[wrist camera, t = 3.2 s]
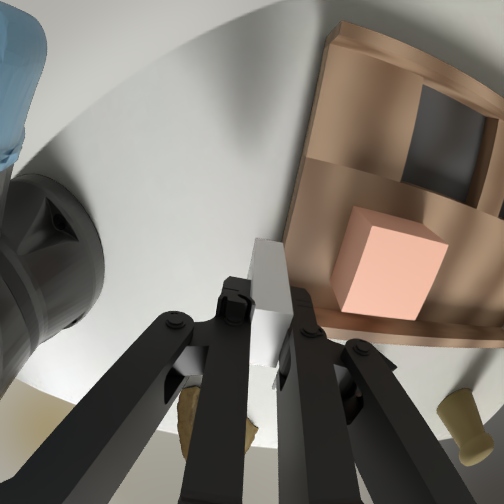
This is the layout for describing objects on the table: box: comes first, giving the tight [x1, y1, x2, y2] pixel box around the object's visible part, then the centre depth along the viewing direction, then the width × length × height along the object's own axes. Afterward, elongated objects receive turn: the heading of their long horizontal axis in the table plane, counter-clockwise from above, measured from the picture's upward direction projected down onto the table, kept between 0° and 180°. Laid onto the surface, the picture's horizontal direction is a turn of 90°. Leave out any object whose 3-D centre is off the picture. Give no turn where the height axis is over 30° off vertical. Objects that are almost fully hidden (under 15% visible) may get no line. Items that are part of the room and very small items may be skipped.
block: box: [330, 206, 449, 320], centre depth 20 cm, size 6×6×4 cm
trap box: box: [281, 20, 504, 348], centre depth 20 cm, size 28×21×6 cm
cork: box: [437, 388, 494, 466], centre depth 29 cm, size 6×6×11 cm
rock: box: [177, 387, 258, 460], centre depth 30 cm, size 11×9×10 cm
